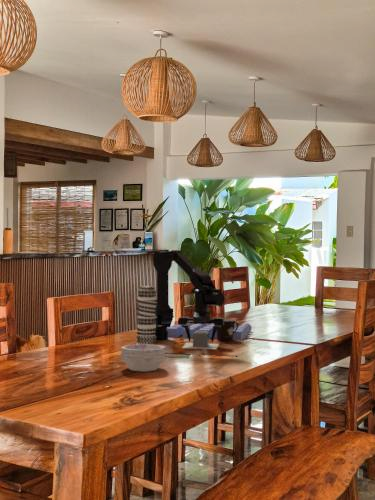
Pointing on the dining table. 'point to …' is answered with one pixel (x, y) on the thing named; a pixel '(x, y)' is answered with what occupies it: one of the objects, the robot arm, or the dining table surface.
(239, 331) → the blocks
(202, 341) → the gray cube
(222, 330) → the coffee mug
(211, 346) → the post stand
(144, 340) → the leaning tower model
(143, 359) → the paper bowls
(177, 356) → the mat
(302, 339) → the dining table surface
